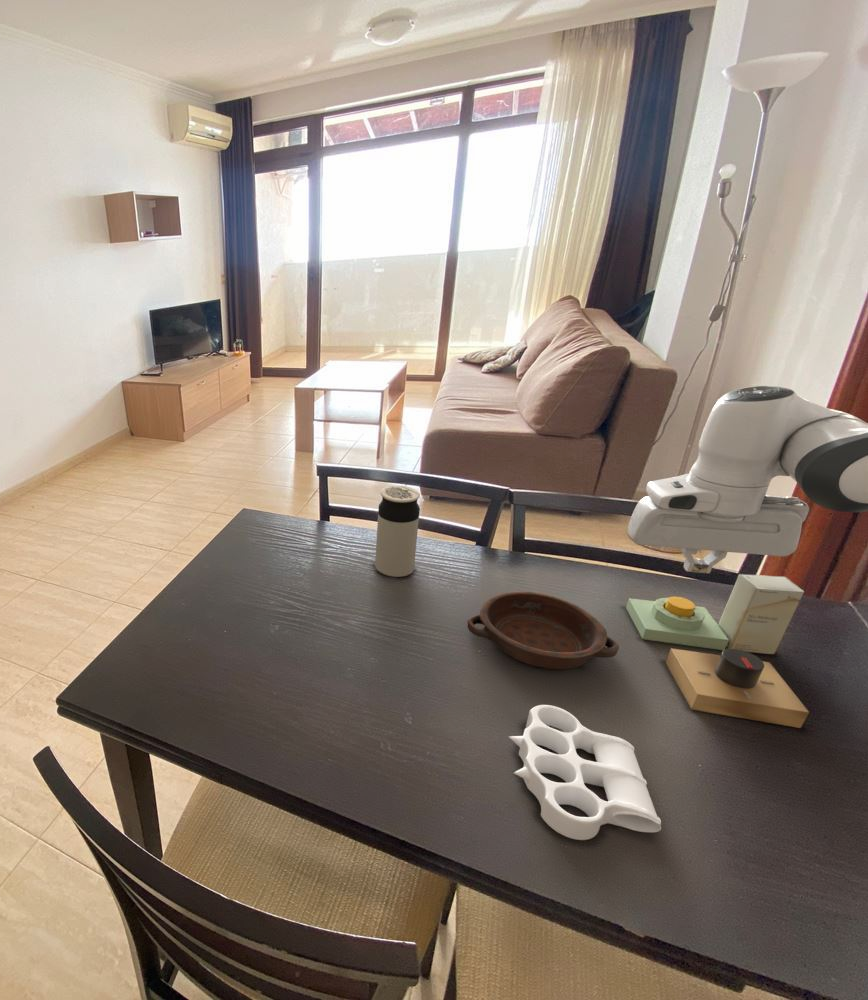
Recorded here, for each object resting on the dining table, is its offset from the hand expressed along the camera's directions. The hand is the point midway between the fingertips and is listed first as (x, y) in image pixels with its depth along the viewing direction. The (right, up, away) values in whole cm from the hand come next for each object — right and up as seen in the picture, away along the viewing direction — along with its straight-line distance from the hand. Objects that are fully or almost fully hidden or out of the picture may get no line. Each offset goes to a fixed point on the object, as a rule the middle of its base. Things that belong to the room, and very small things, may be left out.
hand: (696, 570), depth 88 cm
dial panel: (-3, -17, -8) cm, 19 cm away
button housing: (+1, -11, +5) cm, 12 cm away
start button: (0, -7, +4) cm, 8 cm away
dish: (-23, -13, +5) cm, 27 cm away
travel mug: (-39, -3, +29) cm, 49 cm away
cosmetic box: (+8, -12, +1) cm, 15 cm away
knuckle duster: (-33, -25, -18) cm, 45 cm away
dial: (-3, -14, -9) cm, 17 cm away
